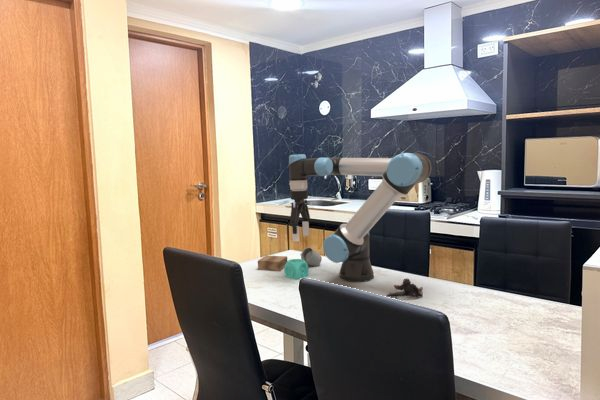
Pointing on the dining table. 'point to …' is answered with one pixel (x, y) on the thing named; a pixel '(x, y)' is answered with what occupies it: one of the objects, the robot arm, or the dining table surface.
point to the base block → (272, 263)
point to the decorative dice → (296, 269)
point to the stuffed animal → (406, 291)
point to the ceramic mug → (311, 257)
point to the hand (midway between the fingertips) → (301, 238)
